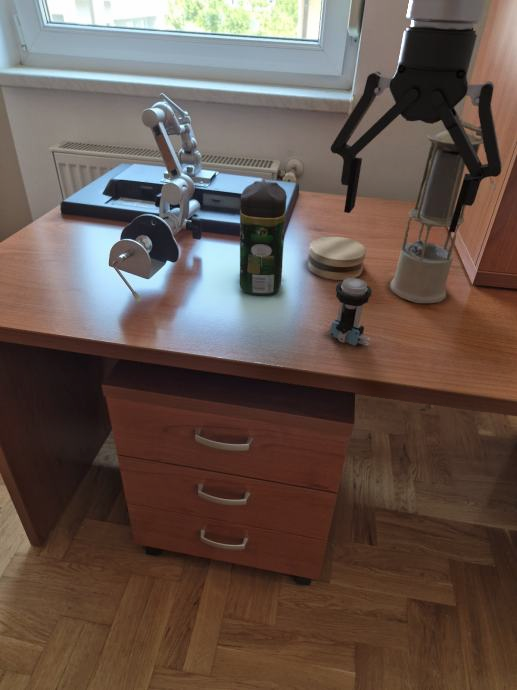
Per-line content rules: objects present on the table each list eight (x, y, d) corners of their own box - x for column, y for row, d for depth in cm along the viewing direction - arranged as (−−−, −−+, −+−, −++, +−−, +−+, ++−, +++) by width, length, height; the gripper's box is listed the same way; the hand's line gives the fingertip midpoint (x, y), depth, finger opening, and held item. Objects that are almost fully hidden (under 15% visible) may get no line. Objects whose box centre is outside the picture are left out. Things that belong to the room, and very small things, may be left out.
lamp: (387, 275, 95) (423, 111, 78) (453, 281, 94) (505, 116, 77) (393, 301, 87) (434, 124, 69) (466, 307, 86) (527, 129, 68)
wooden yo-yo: (372, 266, 98) (376, 246, 96) (345, 286, 91) (348, 265, 88) (325, 250, 104) (327, 230, 101) (295, 268, 96) (297, 247, 94)
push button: (375, 340, 77) (387, 285, 71) (360, 355, 73) (371, 299, 67) (338, 325, 80) (347, 271, 74) (322, 339, 76) (330, 284, 70)
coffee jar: (242, 271, 94) (244, 176, 83) (282, 274, 94) (289, 179, 83) (235, 295, 86) (236, 194, 76) (279, 299, 86) (286, 197, 75)
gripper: (569, 32, 49) (500, 226, 62) (337, 18, 57) (318, 194, 70) (576, 34, 44) (499, 248, 56) (318, 19, 51) (301, 210, 64)
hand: (399, 219), depth 63 cm, fingers open, 13 cm apart
